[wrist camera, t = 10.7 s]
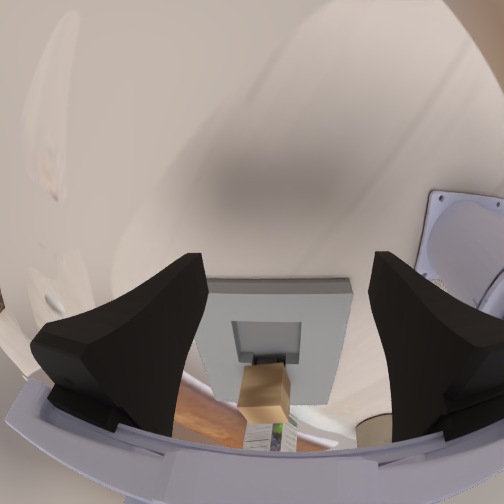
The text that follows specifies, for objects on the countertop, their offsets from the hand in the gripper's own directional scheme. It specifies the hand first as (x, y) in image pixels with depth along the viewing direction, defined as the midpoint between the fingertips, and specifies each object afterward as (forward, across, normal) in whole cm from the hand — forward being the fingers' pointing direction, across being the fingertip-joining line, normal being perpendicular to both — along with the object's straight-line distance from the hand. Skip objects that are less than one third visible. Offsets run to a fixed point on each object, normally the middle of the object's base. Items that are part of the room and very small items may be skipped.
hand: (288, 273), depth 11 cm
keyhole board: (+9, +2, +16) cm, 19 cm away
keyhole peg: (+9, +2, +18) cm, 20 cm away
